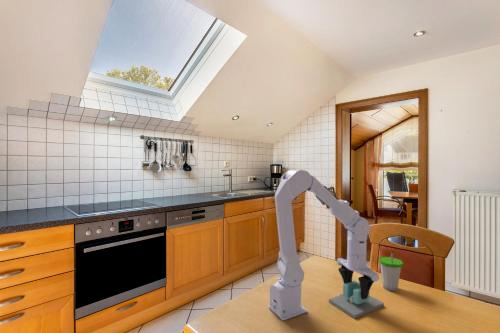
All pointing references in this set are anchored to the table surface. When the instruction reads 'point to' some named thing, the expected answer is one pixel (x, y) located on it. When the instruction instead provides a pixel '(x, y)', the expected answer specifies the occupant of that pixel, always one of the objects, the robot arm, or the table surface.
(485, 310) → the table surface
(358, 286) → the teal slotted block
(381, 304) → the post board
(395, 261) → the cup
